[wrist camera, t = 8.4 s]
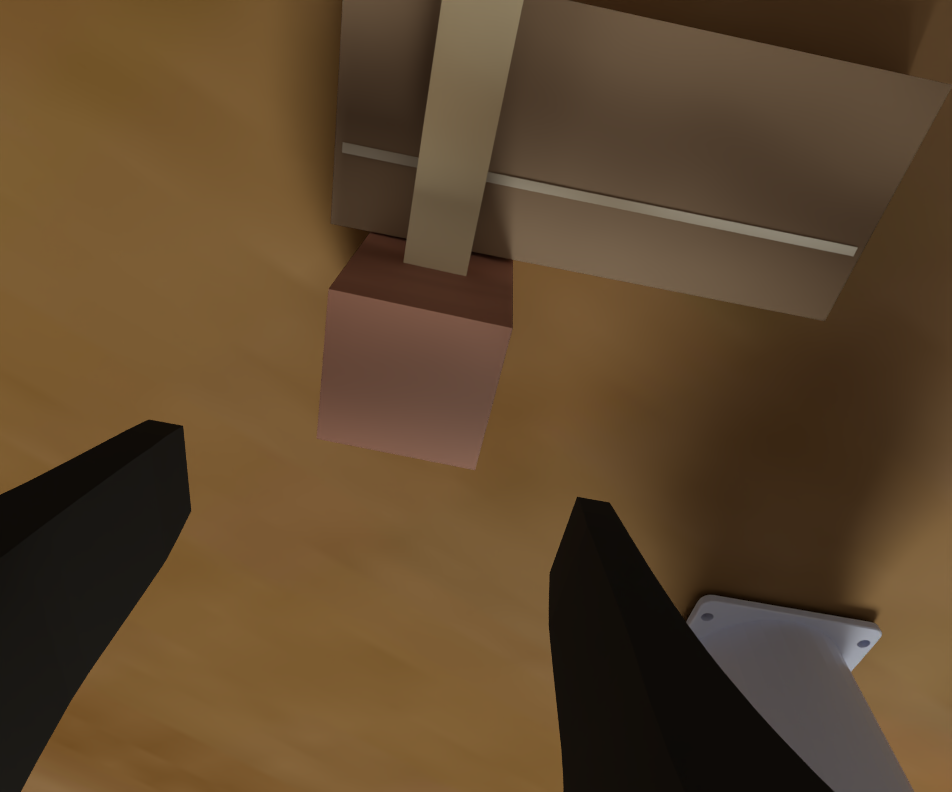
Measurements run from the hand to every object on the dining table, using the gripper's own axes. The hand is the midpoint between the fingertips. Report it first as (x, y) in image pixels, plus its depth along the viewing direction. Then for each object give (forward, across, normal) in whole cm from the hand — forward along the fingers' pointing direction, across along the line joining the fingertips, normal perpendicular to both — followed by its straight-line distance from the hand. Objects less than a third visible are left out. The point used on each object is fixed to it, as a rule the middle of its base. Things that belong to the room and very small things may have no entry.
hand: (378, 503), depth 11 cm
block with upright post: (+9, 0, -3) cm, 10 cm away
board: (+9, -4, -6) cm, 12 cm away
